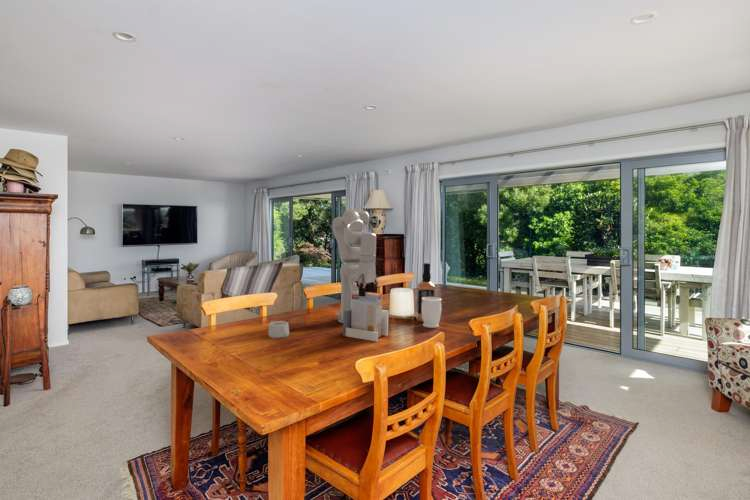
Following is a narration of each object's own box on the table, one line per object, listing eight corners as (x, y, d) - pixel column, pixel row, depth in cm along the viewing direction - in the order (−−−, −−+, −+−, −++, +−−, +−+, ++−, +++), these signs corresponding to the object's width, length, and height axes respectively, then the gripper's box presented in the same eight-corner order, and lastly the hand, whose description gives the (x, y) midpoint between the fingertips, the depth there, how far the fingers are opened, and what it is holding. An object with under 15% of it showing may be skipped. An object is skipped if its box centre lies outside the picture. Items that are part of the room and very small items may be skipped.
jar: (428, 329, 208) (429, 300, 207) (417, 324, 217) (417, 297, 216) (444, 327, 212) (445, 299, 211) (433, 322, 222) (434, 295, 221)
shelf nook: (343, 335, 193) (343, 310, 192) (355, 330, 203) (356, 306, 203) (376, 341, 185) (377, 315, 184) (387, 335, 195) (388, 310, 194)
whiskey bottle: (435, 321, 225) (436, 264, 222) (417, 321, 225) (419, 264, 223) (432, 317, 235) (434, 262, 233) (415, 316, 235) (417, 262, 233)
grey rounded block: (264, 335, 192) (264, 322, 191) (283, 331, 198) (283, 319, 197) (276, 341, 182) (276, 328, 182) (295, 337, 188) (295, 324, 188)
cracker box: (381, 336, 193) (382, 293, 191) (375, 339, 187) (376, 295, 186) (357, 332, 200) (358, 290, 198) (350, 334, 194) (351, 292, 193)
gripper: (369, 257, 201) (368, 291, 202) (351, 259, 185) (350, 296, 187) (383, 258, 197) (382, 292, 198) (366, 261, 182) (365, 298, 183)
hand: (366, 294), depth 193 cm, fingers open, 9 cm apart
